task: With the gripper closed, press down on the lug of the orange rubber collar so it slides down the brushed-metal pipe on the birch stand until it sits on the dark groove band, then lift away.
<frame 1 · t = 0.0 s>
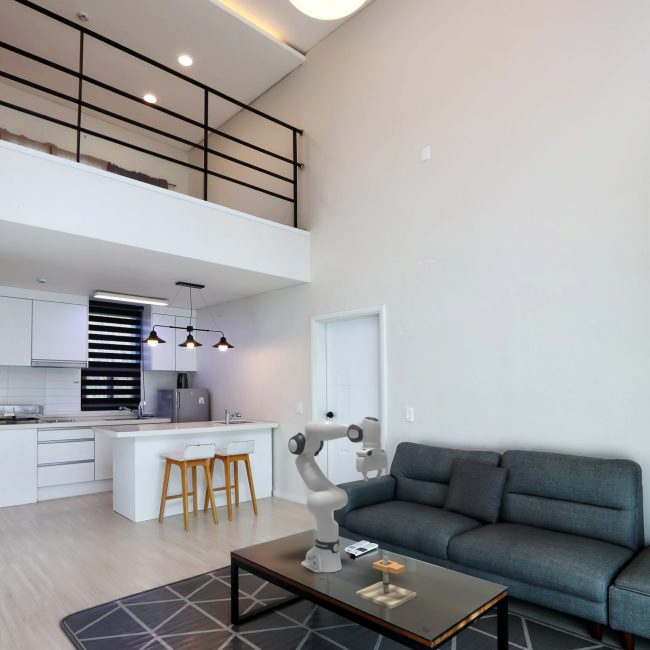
hand: (372, 479, 244), 48 cm above the table, fingers open, 8 cm apart
collar: (389, 566, 223), point 13 cm above the table, slide at 0.0 cm
pipe stand: (386, 596, 223), on the table
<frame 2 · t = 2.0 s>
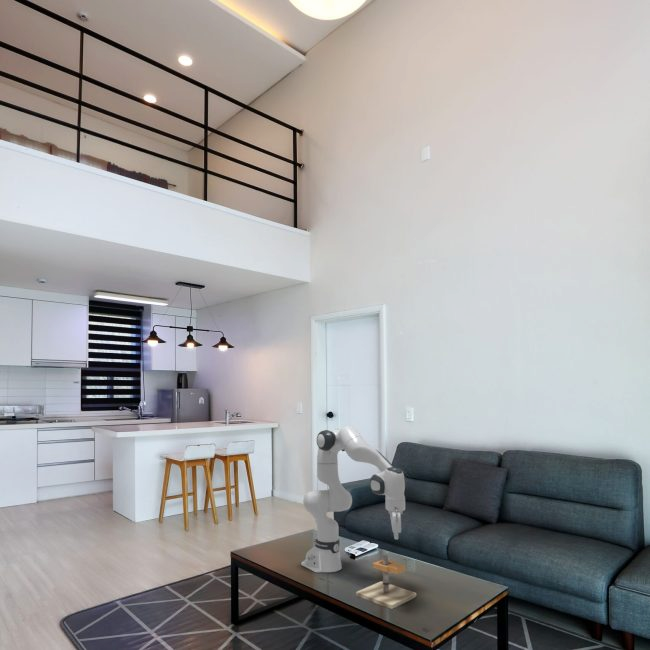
hand: (396, 537, 222), 26 cm above the table, fingers open, 3 cm apart
nothing on the table moved.
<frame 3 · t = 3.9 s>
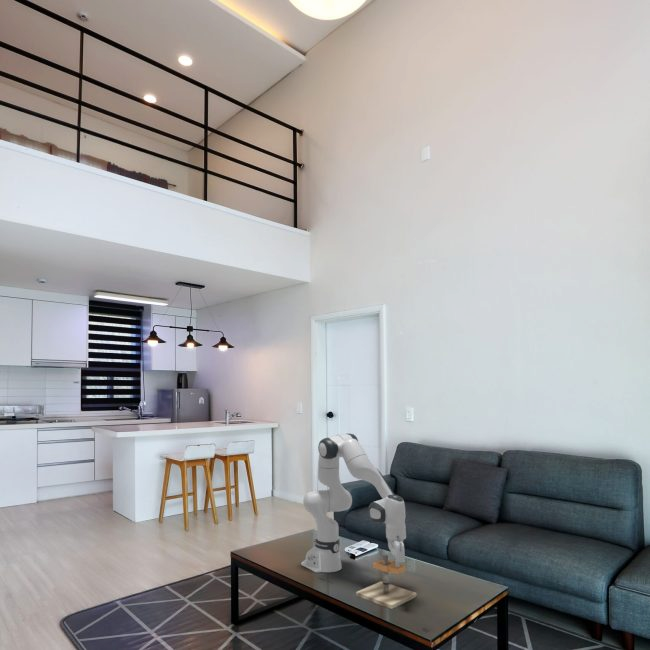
hand: (396, 566, 221), 14 cm above the table, fingers closed
collar: (389, 566, 223), point 13 cm above the table, slide at 0.0 cm, touching gripper
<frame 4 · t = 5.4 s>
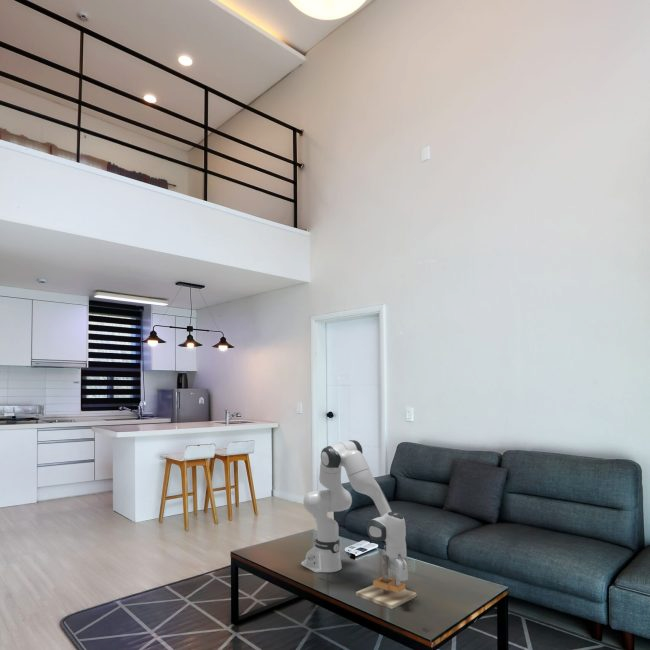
hand: (397, 584, 220), 7 cm above the table, fingers closed, pressing on collar
collar: (389, 584, 222), point 6 cm above the table, slide at 7.5 cm, touching gripper
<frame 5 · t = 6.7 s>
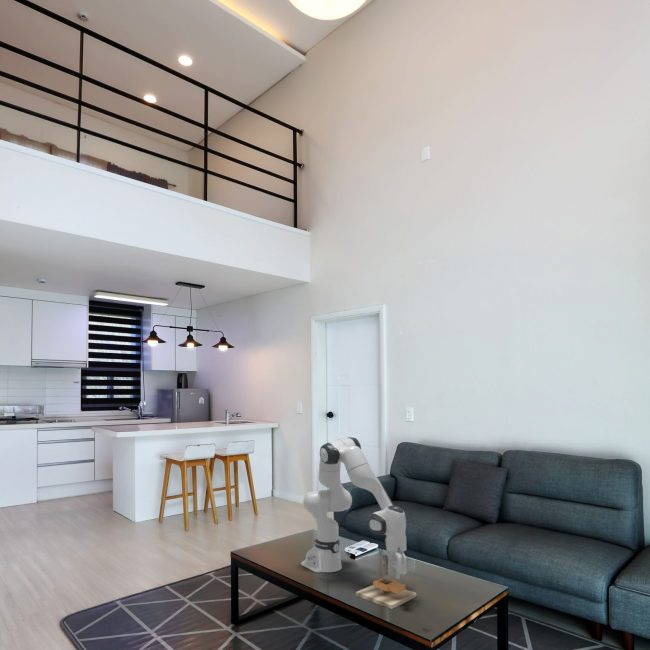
hand: (397, 577, 220), 9 cm above the table, fingers closed
collar: (389, 585, 222), point 5 cm above the table, slide at 7.9 cm
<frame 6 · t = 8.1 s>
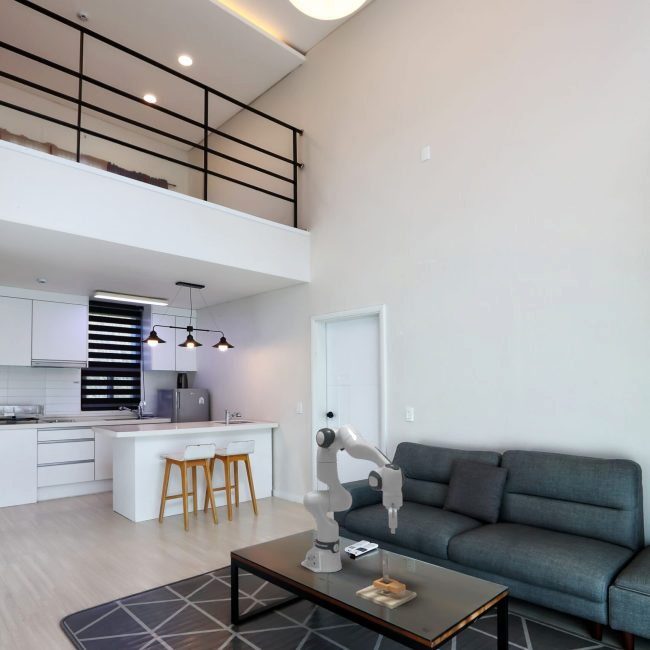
hand: (392, 532, 226), 27 cm above the table, fingers closed
nothing on the table moved.
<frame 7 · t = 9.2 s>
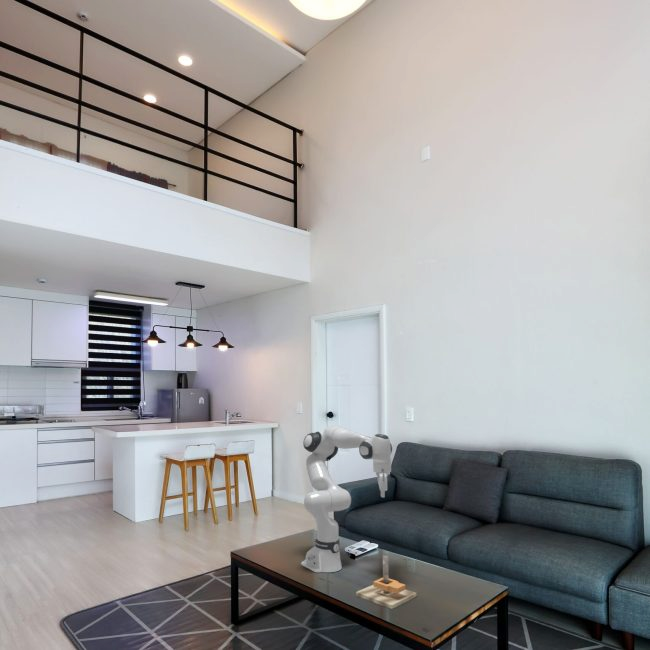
hand: (382, 496, 246), 39 cm above the table, fingers closed
nothing on the table moved.
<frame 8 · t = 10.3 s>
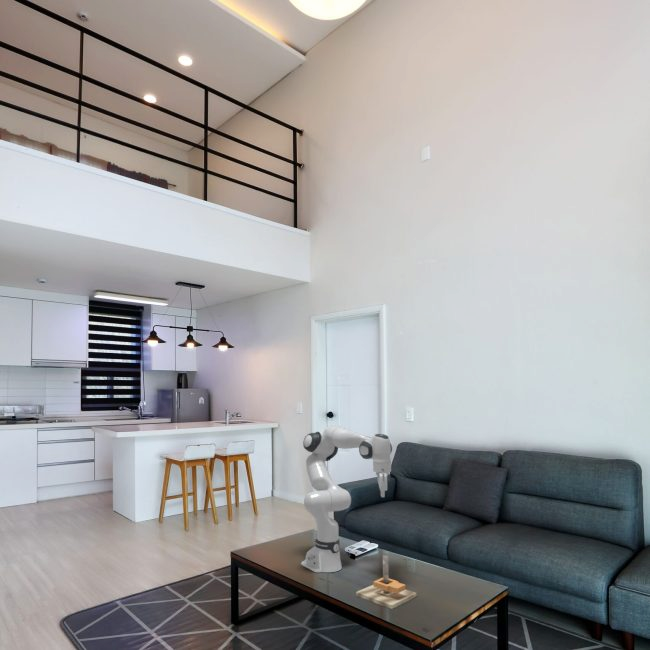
hand: (382, 496, 246), 39 cm above the table, fingers closed
nothing on the table moved.
at the end: collar slide at 7.9 cm; the gripper is holding nothing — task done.
